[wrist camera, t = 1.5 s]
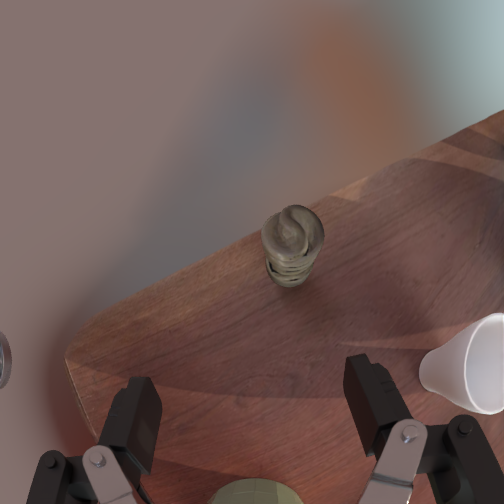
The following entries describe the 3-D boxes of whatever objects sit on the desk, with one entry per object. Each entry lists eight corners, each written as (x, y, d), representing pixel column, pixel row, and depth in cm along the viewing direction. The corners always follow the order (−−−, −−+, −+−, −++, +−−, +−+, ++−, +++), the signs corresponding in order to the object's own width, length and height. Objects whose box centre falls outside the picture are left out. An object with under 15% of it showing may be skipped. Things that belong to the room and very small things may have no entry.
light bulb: (284, 308, 37) (294, 270, 23) (254, 279, 39) (246, 225, 25) (314, 278, 38) (340, 225, 24) (285, 250, 40) (293, 185, 26)
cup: (415, 420, 30) (475, 434, 17) (394, 352, 34) (451, 340, 21) (470, 384, 31) (534, 379, 18) (451, 321, 35) (511, 296, 22)
